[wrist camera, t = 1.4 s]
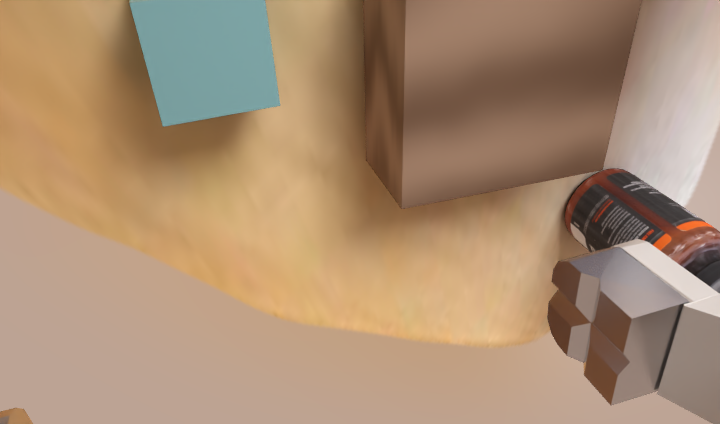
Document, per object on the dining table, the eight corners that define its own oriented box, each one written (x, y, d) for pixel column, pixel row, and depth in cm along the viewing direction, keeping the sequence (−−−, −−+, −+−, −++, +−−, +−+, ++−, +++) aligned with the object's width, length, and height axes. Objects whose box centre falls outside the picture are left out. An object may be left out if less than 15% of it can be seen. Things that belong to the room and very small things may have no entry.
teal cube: (131, -22, 25) (129, 2, 21) (243, -35, 26) (263, -15, 22) (159, 86, 28) (162, 126, 24) (260, 70, 29) (280, 105, 25)
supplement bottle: (553, 242, 42) (666, 350, 33) (569, 171, 39) (699, 269, 30) (621, 228, 44) (746, 328, 35) (641, 159, 41) (785, 248, 32)
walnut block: (360, -66, 27) (406, -49, 23) (575, -81, 30) (657, -68, 26) (364, 158, 34) (401, 209, 29) (542, 128, 37) (602, 169, 32)
